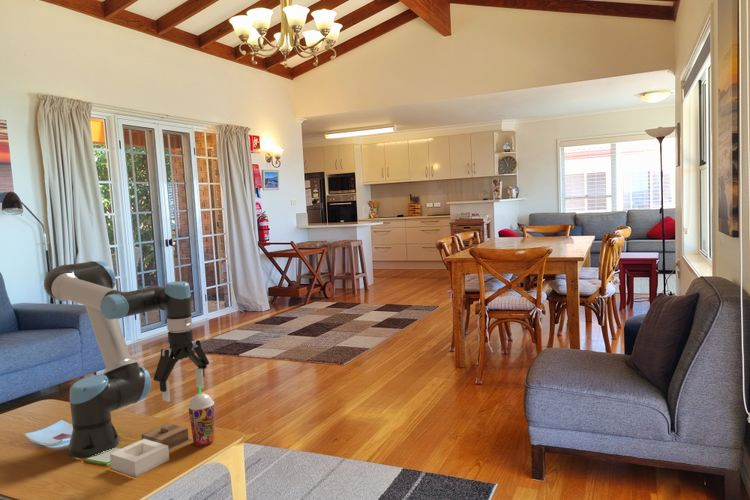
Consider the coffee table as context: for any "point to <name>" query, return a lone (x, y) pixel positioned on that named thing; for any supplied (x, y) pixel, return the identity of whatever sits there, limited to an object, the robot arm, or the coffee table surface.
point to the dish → (139, 457)
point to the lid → (167, 435)
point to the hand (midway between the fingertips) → (183, 394)
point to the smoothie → (202, 418)
